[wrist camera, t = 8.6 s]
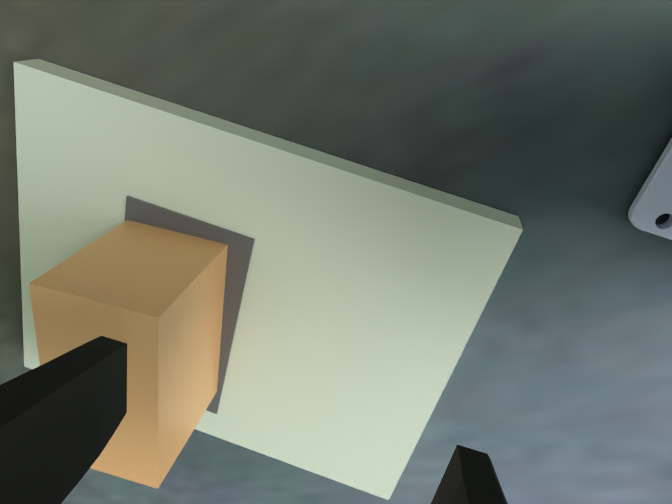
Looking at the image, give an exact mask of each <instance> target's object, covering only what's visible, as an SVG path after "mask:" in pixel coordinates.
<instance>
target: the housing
mask: <svg viewBox="0 0 672 504" xmlns="http://www.w3.org/2000/svg"><path fill="white" fill-rule="evenodd" d="M227 249H228V244H224V243H220V242H215V241H211V240H207V239H203V238H199V237H195V236H191V235H187V234H183V233H179V232H175V231H171V230H167V229H163V228H158V227H154V226H150V225H146V224H142V223H138V222H134V221H130V220H126V221H125V222H123V223H121V224H120V225H118V226H117V227H115V228H114V229H112V230H111V231H109V232H108V233H106V234H104V235H103V236H101V237H100V238H98V239H97V240H95V241H94V242H92V243H91V244H89V245H87V246H86V247H84V248H83V249H81V250H80V251H78V252H77V253H75V254H74V255H72V256H70V257H69V258H67V259H66V260H64V261H63V262H61V263H60V264H58V265H57V266H55V267H53V268H52V269H50V270H49V271H47V272H46V273H44V274H43V275H41V276H39V277H38V278H36V279H35V280H33V281H32V282H30V283H29V288H30V295H31V303H32V310H33V318H34V325H35V333H36V340H37V347H38V355H39V362H40V366H41V365H43V364H45V363H47V362H49V361H51V360H53V359H55V358H57V357H59V356H61V355H63V354H65V353H67V352H69V351H71V350H73V349H75V348H77V347H79V346H81V345H83V344H85V343H87V342H89V341H91V340H93V339H95V338H97V337H100V336H104V337H108V338H111V339H114V340H117V341H121V342H124V343H127V413H126V415H125V416H124V418H123V420H122V421H121V423H120V424H119V426H118V428H117V429H116V431H115V433H114V434H113V436H112V437H111V439H110V440H109V442H108V443H107V445H106V447H105V448H104V450H103V451H102V453H101V454H100V456H99V457H98V458H97V459H96V461H95V462H94V463H93V465H92V466H91V467H90V468H91V469H94V470H98V471H101V472H104V473H108V474H111V475H114V476H117V477H121V478H124V479H127V480H131V481H134V482H137V483H141V484H144V485H147V486H150V487H154V488H157V489H158V488H159V486H160V484H161V483H162V481H163V480H164V478H165V476H166V475H167V473H168V471H169V470H170V468H171V466H172V465H173V463H174V461H175V460H176V458H177V457H178V455H179V453H180V452H181V450H182V448H183V447H184V445H185V443H186V442H187V440H188V438H189V437H190V435H191V434H192V432H193V430H194V429H195V427H196V425H197V424H198V422H199V420H200V419H201V417H202V415H203V414H204V412H205V411H206V409H207V407H208V406H209V404H210V402H211V401H212V399H213V397H214V396H215V394H216V392H217V384H218V371H219V357H220V344H221V330H222V317H223V303H224V290H225V276H226V263H227Z"/></svg>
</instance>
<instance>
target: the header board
mask: <svg viewBox="0 0 672 504" xmlns="http://www.w3.org/2000/svg"><path fill="white" fill-rule="evenodd" d="M14 91H15V119H16V147H17V175H18V203H19V231H20V260H21V288H22V316H23V344H24V366H25V367H27V368H30V369H35V368H37V367H39V366H40V362H39V355H38V347H37V340H36V333H35V325H34V318H33V310H32V303H31V295H30V288H29V283H30V282H32V281H33V280H35V279H36V278H38V277H39V276H41V275H43V274H44V273H46V272H47V271H49V270H50V269H52V268H53V267H55V266H57V265H58V264H60V263H61V262H63V261H64V260H66V259H67V258H69V257H70V256H72V255H74V254H75V253H77V252H78V251H80V250H81V249H83V248H84V247H86V246H87V245H89V244H91V243H92V242H94V241H95V240H97V239H98V238H100V237H101V236H103V235H104V234H106V233H108V232H109V231H111V230H112V229H114V228H115V227H117V226H118V225H120V224H121V223H123V222H125V221H126V220H130V221H134V222H138V223H142V224H146V225H150V226H154V227H158V228H163V229H167V230H171V231H175V232H179V233H183V234H187V235H191V236H195V237H199V238H203V239H207V240H211V241H215V242H220V243H224V244H228V249H227V263H226V276H225V290H224V303H223V317H222V330H221V344H220V357H219V371H218V384H217V392H216V394H215V396H214V397H213V399H212V401H211V402H210V404H209V406H208V407H207V409H206V411H205V412H204V414H203V415H202V417H201V419H200V420H199V422H198V424H197V425H196V427H195V429H196V430H199V431H202V432H204V433H207V434H210V435H213V436H215V437H218V438H221V439H223V440H226V441H229V442H232V443H234V444H237V445H240V446H242V447H245V448H248V449H251V450H253V451H256V452H259V453H262V454H264V455H267V456H270V457H272V458H275V459H278V460H281V461H283V462H286V463H289V464H291V465H294V466H297V467H300V468H302V469H305V470H308V471H311V472H313V473H316V474H319V475H321V476H324V477H327V478H330V479H332V480H335V481H338V482H341V483H343V484H346V485H349V486H351V487H354V488H357V489H360V490H362V491H365V492H368V493H370V494H373V495H376V496H379V497H381V498H384V499H387V500H389V498H390V496H391V494H392V492H393V490H394V488H395V486H396V484H397V482H398V480H399V478H400V476H401V474H402V472H403V470H404V468H405V466H406V464H407V462H408V460H409V458H410V456H411V454H412V452H413V450H414V448H415V446H416V444H417V442H418V440H419V438H420V436H421V434H422V432H423V430H424V428H425V426H426V424H427V422H428V420H429V418H430V416H431V414H432V412H433V410H434V408H435V406H436V404H437V402H438V400H439V398H440V396H441V394H442V392H443V390H444V388H445V386H446V384H447V382H448V380H449V378H450V376H451V374H452V372H453V370H454V368H455V366H456V364H457V362H458V360H459V358H460V356H461V354H462V352H463V350H464V348H465V346H466V344H467V342H468V340H469V338H470V335H471V333H472V331H473V329H474V327H475V325H476V323H477V321H478V319H479V317H480V315H481V313H482V311H483V309H484V307H485V305H486V303H487V301H488V299H489V297H490V295H491V293H492V291H493V289H494V287H495V285H496V283H497V281H498V279H499V277H500V275H501V273H502V271H503V269H504V267H505V265H506V263H507V261H508V259H509V257H510V255H511V253H512V251H513V249H514V247H515V245H516V243H517V241H518V239H519V237H520V235H521V233H522V231H523V228H522V225H521V222H520V219H519V216H516V215H513V214H510V213H507V212H504V211H501V210H498V209H495V208H492V207H489V206H485V205H482V204H479V203H476V202H473V201H470V200H467V199H464V198H461V197H458V196H455V195H452V194H449V193H446V192H443V191H440V190H437V189H434V188H431V187H428V186H425V185H422V184H418V183H415V182H412V181H409V180H406V179H403V178H400V177H397V176H394V175H391V174H388V173H385V172H382V171H379V170H376V169H373V168H370V167H367V166H364V165H361V164H358V163H354V162H351V161H348V160H345V159H342V158H339V157H336V156H333V155H330V154H327V153H324V152H321V151H318V150H315V149H312V148H309V147H306V146H303V145H300V144H297V143H294V142H291V141H287V140H284V139H281V138H278V137H275V136H272V135H269V134H266V133H263V132H260V131H257V130H254V129H251V128H248V127H245V126H242V125H239V124H236V123H233V122H230V121H227V120H223V119H220V118H217V117H214V116H211V115H208V114H205V113H202V112H199V111H196V110H193V109H190V108H187V107H184V106H181V105H178V104H175V103H172V102H169V101H166V100H163V99H160V98H156V97H153V96H150V95H147V94H144V93H141V92H138V91H135V90H132V89H129V88H126V87H123V86H120V85H117V84H114V83H111V82H108V81H105V80H102V79H99V78H96V77H92V76H89V75H86V74H83V73H80V72H77V71H74V70H71V69H68V68H65V67H62V66H59V65H56V64H53V63H50V62H47V61H44V60H41V59H33V60H24V61H16V62H14Z"/></svg>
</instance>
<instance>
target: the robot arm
mask: <svg viewBox="0 0 672 504" xmlns="http://www.w3.org/2000/svg"><path fill="white" fill-rule="evenodd" d="M662 214H669V215H670V216H669V219H668V220H667V221H666V222H665V223H663V224H660V225H658V224H655V221H656V219H657V218H658V217H659V216H660V215H662ZM628 218H629V220H630V222H631V223H632V224H633V225H634V226H635V227H636V228H638V229H640V230H642V231H646V232H649V233H652V234H655V235H658V236H661V237H664V238H667V239H670V240H672V138H671V140H670V141H669V143H668V145H667V146H666V148H665V150H664V151H663V153H662V155H661V156H660V158H659V160H658V161H657V163H656V165H655V166H654V168H653V170H652V171H651V173H650V175H649V176H648V178H647V180H646V181H645V183H644V185H643V186H642V188H641V190H640V192H639V193H638V195H637V197H636V198H635V200H634V202H633V203H632V205H631V207H630V209H629V212H628ZM126 413H127V343H124V342H121V341H117V340H114V339H111V338H108V337H104V336H100V337H97V338H95V339H93V340H91V341H89V342H87V343H85V344H83V345H81V346H79V347H77V348H75V349H73V350H71V351H69V352H67V353H65V354H63V355H61V356H59V357H57V358H55V359H53V360H51V361H49V362H47V363H45V364H43V365H41V366H39V367H37V368H35V369H32V370H30V371H28V372H26V373H24V374H22V375H20V376H18V377H16V378H14V379H12V380H10V381H8V382H6V383H4V384H2V385H0V504H61V503H62V502H63V500H64V499H65V498H66V497H67V496H68V494H69V493H70V492H71V491H72V489H73V488H74V487H75V486H76V484H77V483H78V482H79V481H80V480H81V478H82V477H83V476H84V475H85V473H86V472H87V471H88V470H89V468H90V467H91V466H92V465H93V463H94V462H95V461H96V459H97V458H98V457H99V456H100V454H101V453H102V451H103V450H104V448H105V447H106V445H107V443H108V442H109V440H110V439H111V437H112V436H113V434H114V433H115V431H116V429H117V428H118V426H119V424H120V423H121V421H122V420H123V418H124V416H125V415H126ZM431 504H508V503H507V501H506V498H505V496H504V493H503V491H502V488H501V486H500V483H499V481H498V478H497V475H496V473H495V470H494V467H493V465H492V462H491V460H490V458H489V456H488V454H486V453H483V452H479V451H476V450H473V449H470V448H466V447H463V446H460V445H457V447H456V449H455V451H454V453H453V456H452V458H451V460H450V462H449V465H448V467H447V469H446V471H445V473H444V476H443V478H442V480H441V482H440V485H439V487H438V489H437V491H436V494H435V496H434V498H433V500H432V503H431Z"/></svg>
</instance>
